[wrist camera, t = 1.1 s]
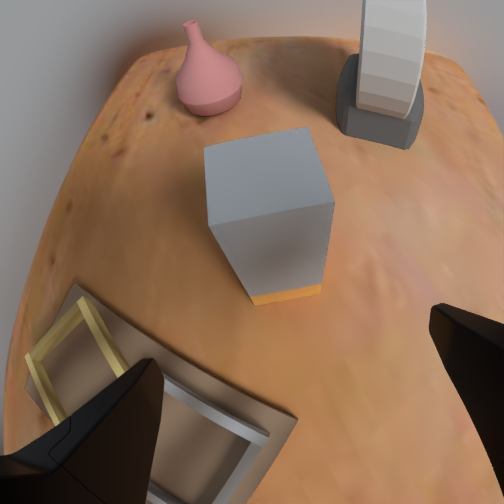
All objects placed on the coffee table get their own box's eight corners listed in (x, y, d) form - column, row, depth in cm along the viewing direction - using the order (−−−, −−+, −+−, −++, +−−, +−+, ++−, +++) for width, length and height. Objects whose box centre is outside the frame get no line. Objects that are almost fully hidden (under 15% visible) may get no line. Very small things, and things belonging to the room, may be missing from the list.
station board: (298, 418, 19) (297, 423, 17) (217, 540, 15) (208, 553, 13) (79, 285, 26) (63, 276, 24) (30, 388, 22) (13, 385, 20)
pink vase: (246, 123, 31) (223, 29, 21) (181, 131, 33) (143, 48, 22) (249, 85, 35) (231, 5, 24) (192, 93, 36) (164, 19, 25)
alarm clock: (344, 67, 34) (343, -52, 18) (416, 83, 31) (435, -34, 15) (324, 143, 29) (321, -33, 12) (421, 167, 26) (472, 2, 10)
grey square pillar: (319, 293, 23) (334, 201, 11) (255, 305, 23) (208, 226, 12) (308, 242, 25) (307, 126, 13) (247, 254, 25) (203, 147, 14)
